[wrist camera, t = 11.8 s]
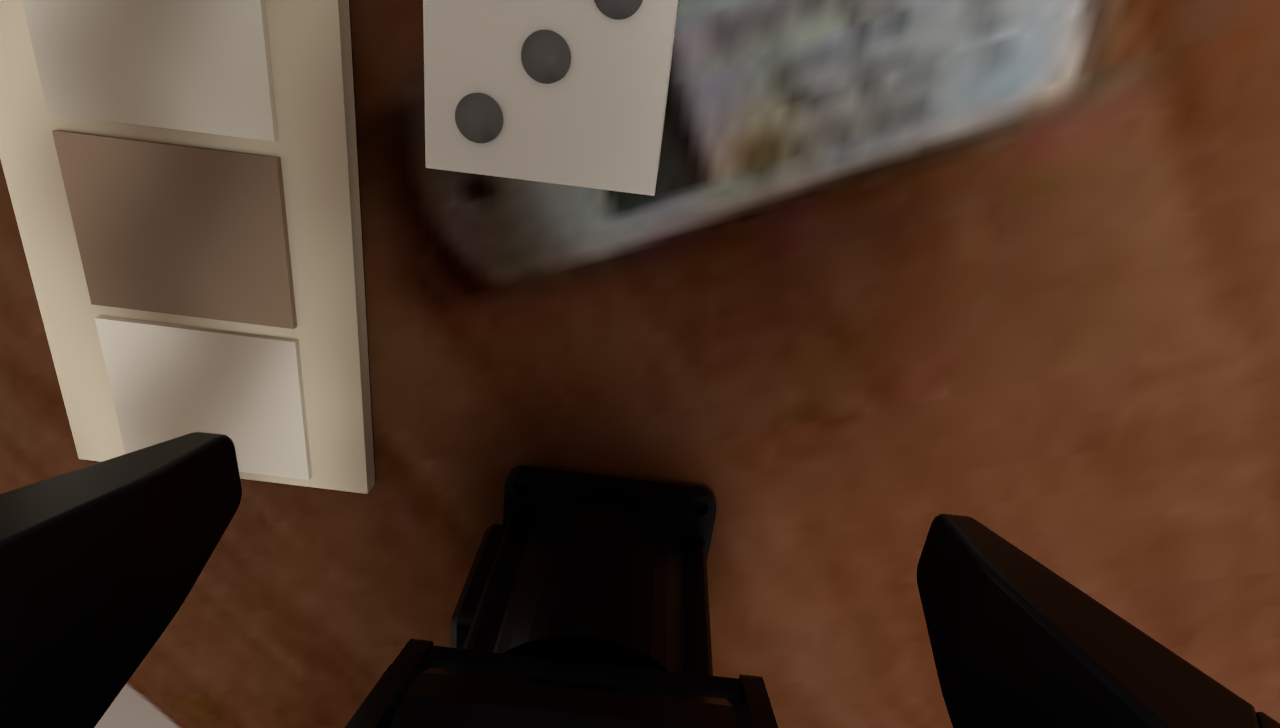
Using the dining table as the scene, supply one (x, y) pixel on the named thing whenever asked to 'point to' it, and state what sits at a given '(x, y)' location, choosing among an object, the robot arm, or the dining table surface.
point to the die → (549, 89)
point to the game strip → (195, 225)
